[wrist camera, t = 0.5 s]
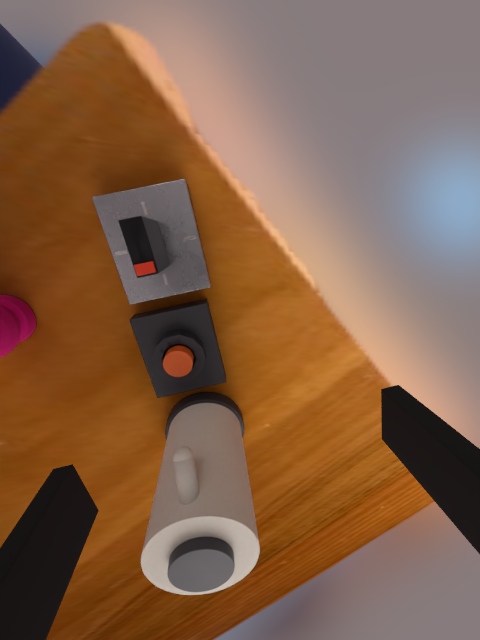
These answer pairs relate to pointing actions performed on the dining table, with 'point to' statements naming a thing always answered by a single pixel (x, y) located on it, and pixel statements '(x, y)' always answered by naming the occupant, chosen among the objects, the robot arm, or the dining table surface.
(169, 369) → the red push button
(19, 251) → the dining table surface
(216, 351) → the push button box
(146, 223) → the black switch lever
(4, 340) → the pepper mill
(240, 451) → the kettle
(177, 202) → the lever switch base
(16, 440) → the dining table surface
